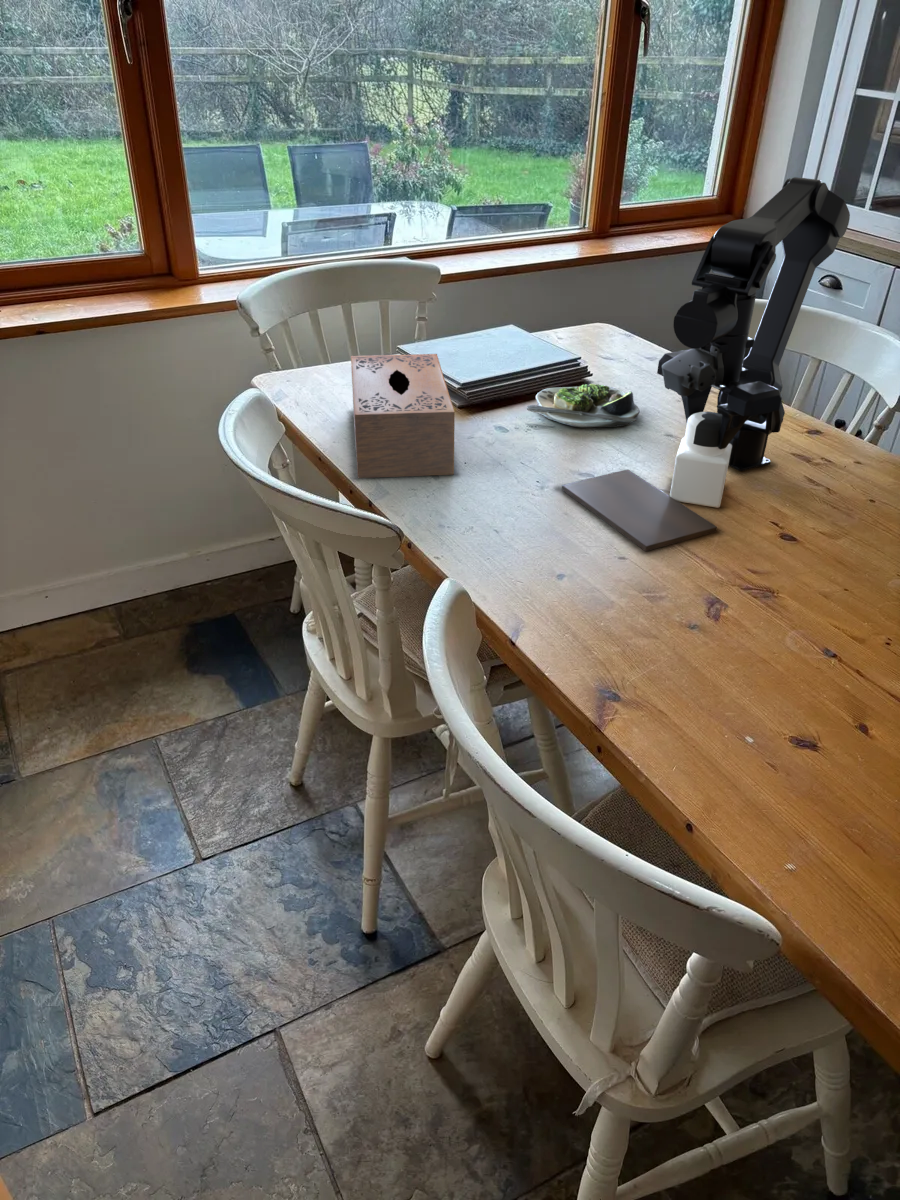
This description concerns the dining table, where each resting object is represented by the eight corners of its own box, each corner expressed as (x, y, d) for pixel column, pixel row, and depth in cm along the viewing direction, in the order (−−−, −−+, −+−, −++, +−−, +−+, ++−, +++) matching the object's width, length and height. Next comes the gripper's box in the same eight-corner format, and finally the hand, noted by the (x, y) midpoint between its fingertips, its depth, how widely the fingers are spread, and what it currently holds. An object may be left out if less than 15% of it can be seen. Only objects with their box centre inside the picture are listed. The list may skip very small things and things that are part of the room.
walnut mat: (627, 474, 138) (628, 469, 137) (716, 531, 123) (717, 526, 123) (561, 489, 133) (561, 484, 133) (645, 551, 118) (646, 546, 118)
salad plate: (537, 436, 149) (539, 409, 147) (513, 397, 164) (515, 372, 161) (649, 430, 152) (653, 404, 149) (616, 392, 167) (619, 367, 164)
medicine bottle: (723, 487, 134) (739, 411, 128) (719, 509, 129) (735, 429, 122) (675, 480, 136) (687, 404, 130) (668, 500, 131) (681, 422, 124)
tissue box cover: (353, 412, 157) (350, 355, 151) (436, 410, 158) (436, 353, 153) (357, 478, 135) (354, 414, 130) (453, 474, 137) (454, 411, 131)
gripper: (633, 318, 123) (620, 426, 131) (728, 359, 109) (706, 477, 118) (697, 308, 127) (680, 413, 136) (796, 347, 113) (770, 461, 122)
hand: (706, 440), depth 128 cm, fingers closed on medicine bottle, 6 cm apart
